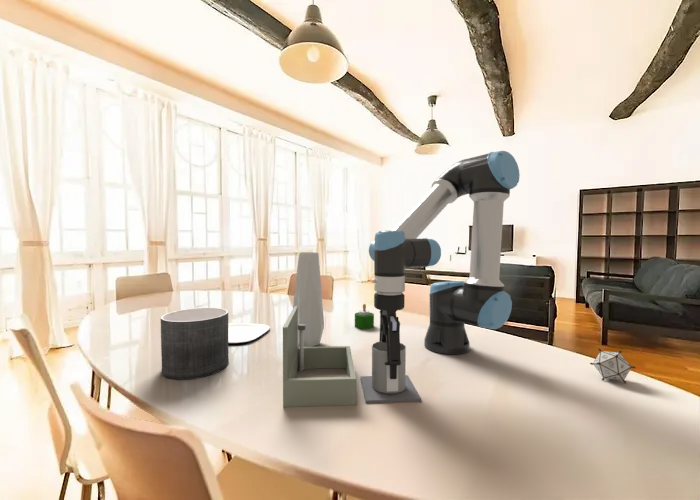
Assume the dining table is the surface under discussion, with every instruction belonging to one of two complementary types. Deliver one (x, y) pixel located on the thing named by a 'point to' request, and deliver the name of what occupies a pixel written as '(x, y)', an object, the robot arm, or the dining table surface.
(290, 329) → the case
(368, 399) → the mat
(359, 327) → the candle
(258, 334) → the plate
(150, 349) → the dining table surface
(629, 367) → the game die
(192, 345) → the planter
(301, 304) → the vase
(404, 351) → the cup
